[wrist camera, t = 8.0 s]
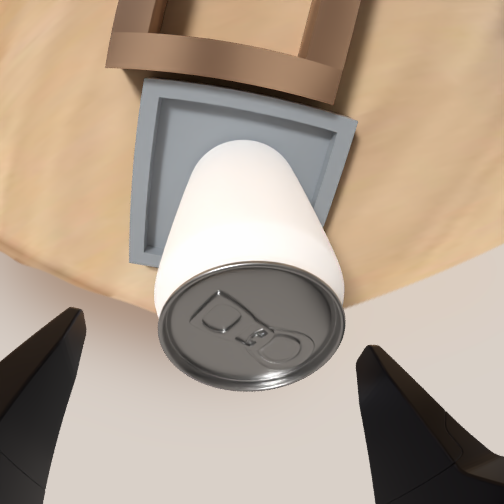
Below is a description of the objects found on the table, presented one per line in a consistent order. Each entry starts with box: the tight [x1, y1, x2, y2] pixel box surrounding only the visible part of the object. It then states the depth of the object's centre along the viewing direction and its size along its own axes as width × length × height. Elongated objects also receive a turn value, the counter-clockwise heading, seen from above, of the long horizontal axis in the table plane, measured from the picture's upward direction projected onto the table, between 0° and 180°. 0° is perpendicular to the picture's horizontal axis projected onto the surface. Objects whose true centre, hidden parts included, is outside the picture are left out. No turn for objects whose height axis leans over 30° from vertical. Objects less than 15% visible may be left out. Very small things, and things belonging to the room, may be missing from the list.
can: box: [154, 140, 345, 391], centre depth 14 cm, size 6×6×12 cm
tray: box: [129, 77, 358, 268], centre depth 19 cm, size 12×12×2 cm
